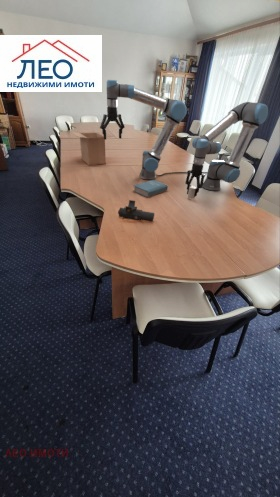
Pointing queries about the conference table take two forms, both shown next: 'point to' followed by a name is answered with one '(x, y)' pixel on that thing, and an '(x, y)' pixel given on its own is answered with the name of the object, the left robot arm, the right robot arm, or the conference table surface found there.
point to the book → (150, 188)
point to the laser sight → (135, 213)
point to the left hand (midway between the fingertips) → (112, 138)
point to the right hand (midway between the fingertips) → (191, 194)
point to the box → (92, 146)
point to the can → (191, 192)
